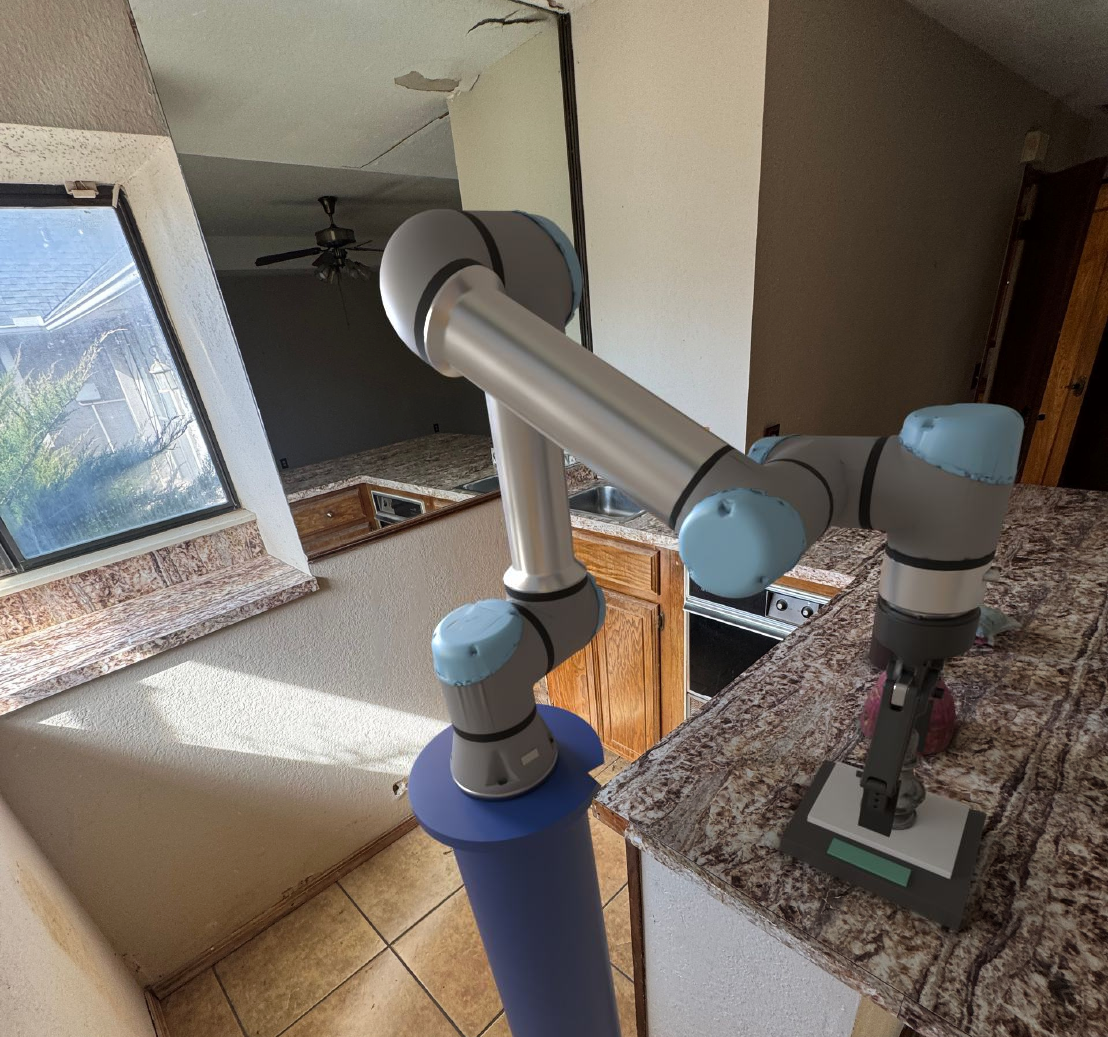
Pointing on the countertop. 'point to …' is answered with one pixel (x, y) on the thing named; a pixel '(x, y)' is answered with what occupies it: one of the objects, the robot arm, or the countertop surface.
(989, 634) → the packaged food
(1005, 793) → the countertop surface
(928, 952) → the countertop surface
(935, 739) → the vegetable
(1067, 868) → the countertop surface
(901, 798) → the chess piece
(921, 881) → the scale
